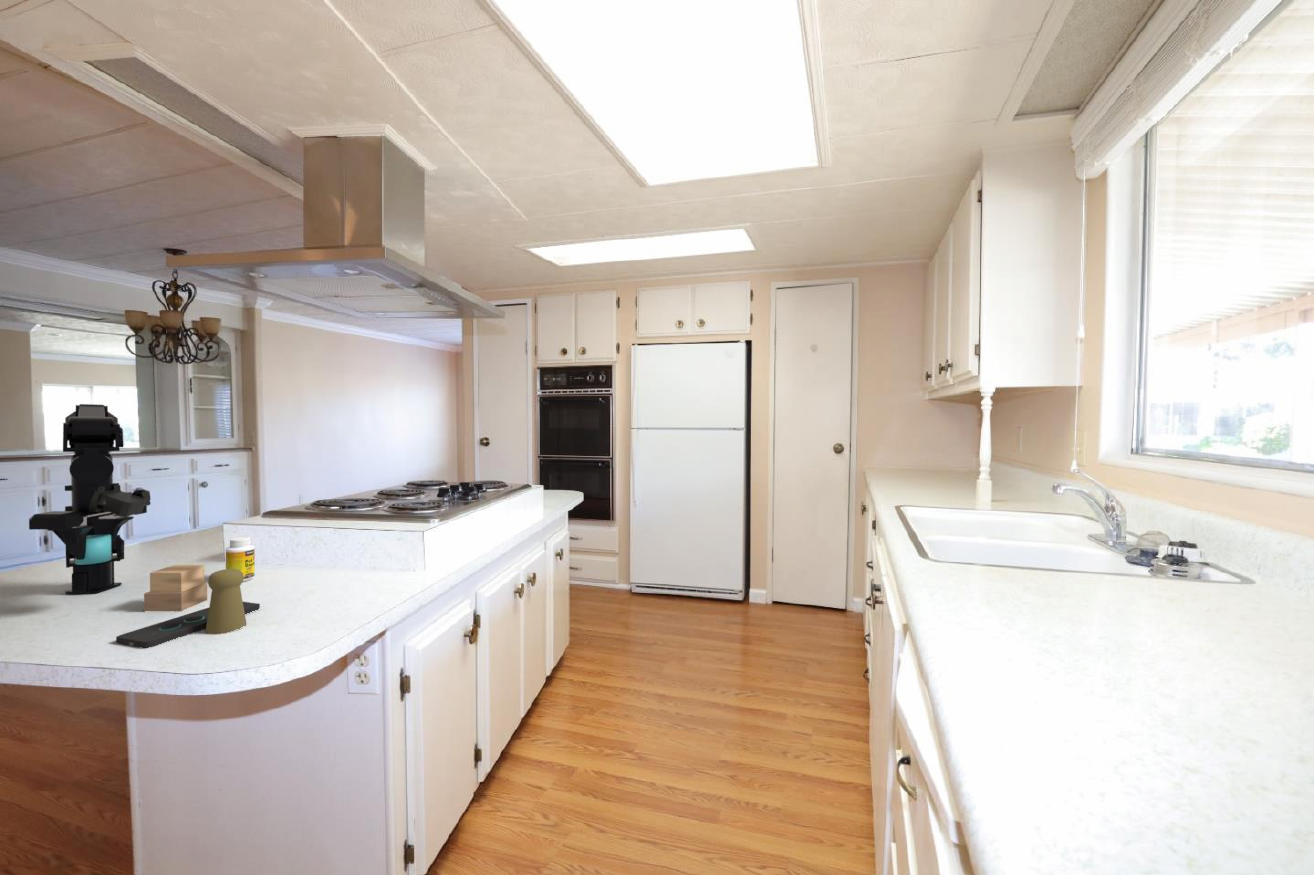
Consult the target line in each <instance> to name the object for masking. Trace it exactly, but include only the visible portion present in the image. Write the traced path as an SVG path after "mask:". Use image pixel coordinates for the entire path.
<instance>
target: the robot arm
mask: <svg viewBox="0 0 1314 875" xmlns="http://www.w3.org/2000/svg"><path fill="white" fill-rule="evenodd" d="M64 419H65V420H64V422H63V423H62V424H63V426H62V427H63V428H62V452H63V453H74V454H73V455H72V456H71V457H70V465H69V469H68V470H69V473H70V476H71V479H70V482H71V484H69V485H68V484H67V485H64V491H65V492H71V505H65V507H64V510H63V511H62V510H59V511H58V510H57V511H56V510H52V511H46V512H40V513H35V514H33V515H32V516H31V517H29V518H28V529H29V530H47V531H48V532H49V531H51V532H53V534H55V536H57V537H58V538H59V539H60V540H61V542H62V543H63V544H64V545H65V568H66V569H67V568H71V567H72V573H71V589H68V590H66V591H65V592H64V594H67V595H68V594H71V595H73V594H99V593H101V592H104V591H106V590H110V589H113V588H116V587H118V586H119V587H120V586H121V585H122V582H115V562H121V561H123V560H125V540H124V539H122V537H121V534H118V533H119V532H120V529H121V528H122V526H123V525H124V524H126V523H127V522H129V521H131V520H133V519H134V518H135V516H137V515H142V514H147V512H148V509H147V508H148V507H147V506H150V505H152V504H151V493H150V491H149V490H146V489H144V488H142V489H136V490H134V491H133V492H131V491H126V492H125V491H122V490H121V485H120V483H119V482H114V481H113V480H114V468H115V466H114V463H113V459H114V458H113V456H112V454H111V452H120V448H124V430H123V428H122V427H121V424H120V423H119V418H118V417H117V416H115V415H113V413H111V412H109V411H108V405H104V404H95V403H94V404H91V403H89V404H86V403H80V404H75V411H74V412H72V413H70V414H69V415H68V416H66V417H65V418H64ZM68 445H69V446H68ZM99 534H110V535H111V560H110V561H106V562H102V563H96V564H86V565H77V564H75V558H76V559H77V560H83V559H84V558H85V553H86V539H87V536H89V535H99Z"/></svg>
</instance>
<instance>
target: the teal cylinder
mask: <svg viewBox="0 0 1314 875" xmlns="http://www.w3.org/2000/svg"><path fill="white" fill-rule="evenodd" d="M110 560H111V535H110V534H99V535H89V536H87V539H86V553H85V558H84V559H83V560H77V559H76V558H75V564H77V565H86V564H96V563H102V562H106V561H110Z"/></svg>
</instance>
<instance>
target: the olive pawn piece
mask: <svg viewBox="0 0 1314 875" xmlns="http://www.w3.org/2000/svg"><path fill="white" fill-rule="evenodd" d="M243 579H244V575H243V573H242V572H241V571H240V570H238V569H226V568H224V569H220V570H217V571H214V572H213V573H211V574H210V575H209V576H208V580H207V586H208V588H210V590H211V594H210V601H209V605H208V606H209V607H208V608H209V612H208V618H207V625H206V629H205V634H208V635H222V634H221V633H223V634H228V633H227V632H229V633H232V632H231V631H233V632H235V631H234V630H236V629H239V630H241V629H242V628H241V627H243V626H245V627H246V626H247V618H246V615H245V612H244V606H243V602H244V600H243V597H242V596H243V595H242V590H241V585H242V584H243V583H244V582H243ZM240 628H241V629H240ZM236 631H237V630H236Z"/></svg>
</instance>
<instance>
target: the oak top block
mask: <svg viewBox="0 0 1314 875" xmlns="http://www.w3.org/2000/svg"><path fill="white" fill-rule="evenodd" d="M203 583H205V565H204V564H172V565H170V566H166V567H164V568H161V569H158V570H154V571H151V572H150V573H149V592H183V591H185V590H188V589H191V588H193V587H196V586H198V585H201V584H203Z"/></svg>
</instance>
